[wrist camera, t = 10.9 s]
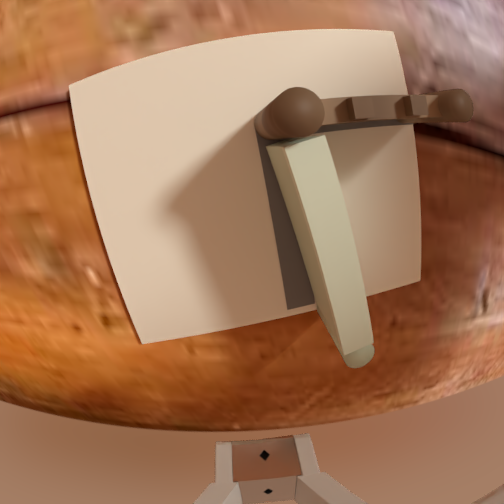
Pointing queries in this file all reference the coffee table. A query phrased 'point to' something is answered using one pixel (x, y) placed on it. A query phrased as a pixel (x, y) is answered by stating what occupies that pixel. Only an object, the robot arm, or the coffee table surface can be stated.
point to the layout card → (239, 176)
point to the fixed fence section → (356, 111)
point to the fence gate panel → (325, 242)
